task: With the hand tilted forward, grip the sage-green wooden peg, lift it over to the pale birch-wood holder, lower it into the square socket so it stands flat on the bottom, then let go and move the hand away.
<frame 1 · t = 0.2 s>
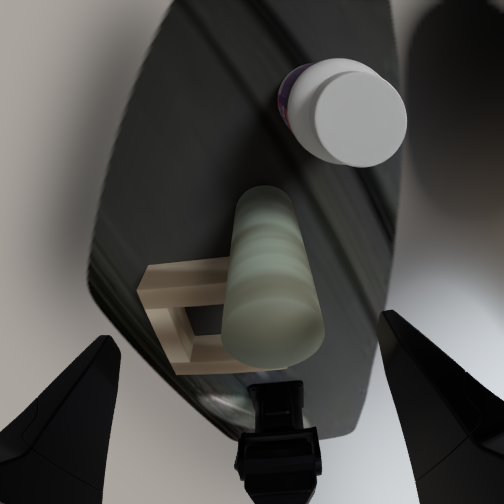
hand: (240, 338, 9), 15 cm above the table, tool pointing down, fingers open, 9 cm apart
holder: (221, 308, 28), on the table
pill bottle: (315, 100, 19), on the table
peg: (264, 212, 23), on the table
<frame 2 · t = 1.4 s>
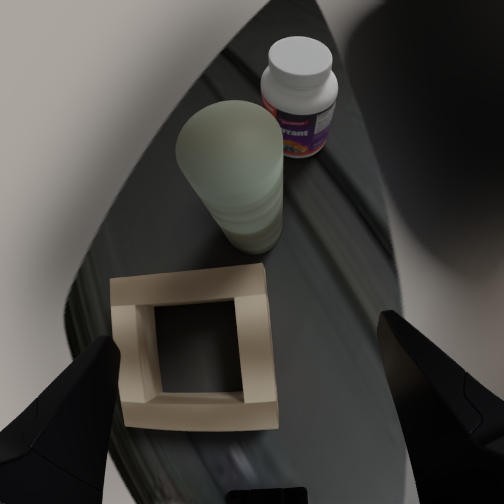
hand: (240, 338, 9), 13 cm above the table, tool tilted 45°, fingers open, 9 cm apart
holder: (199, 349, 23), on the table
pill bottle: (296, 135, 26), on the table
peg: (253, 226, 24), on the table
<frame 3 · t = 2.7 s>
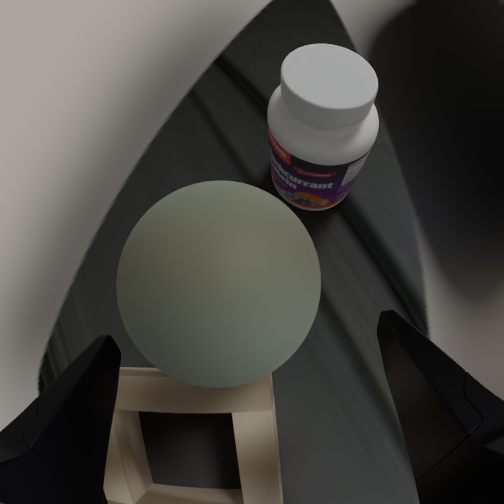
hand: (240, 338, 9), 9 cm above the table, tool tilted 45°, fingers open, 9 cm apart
holder: (192, 446, 17), on the table
pill bottle: (311, 176, 20), on the table
peg: (256, 305, 18), on the table
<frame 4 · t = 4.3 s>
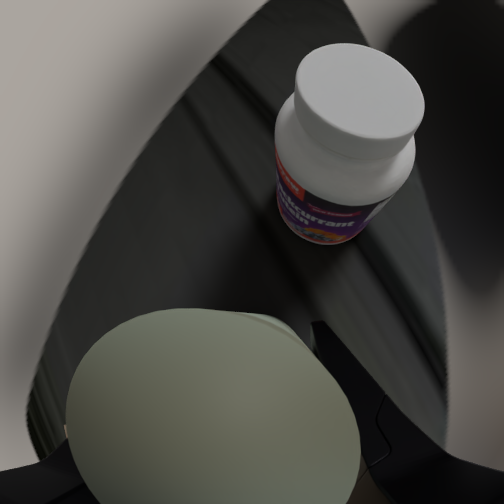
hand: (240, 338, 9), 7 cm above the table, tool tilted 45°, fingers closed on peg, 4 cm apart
pill bottle: (324, 201, 17), on the table
peg: (259, 355, 16), on the table, touching gripper
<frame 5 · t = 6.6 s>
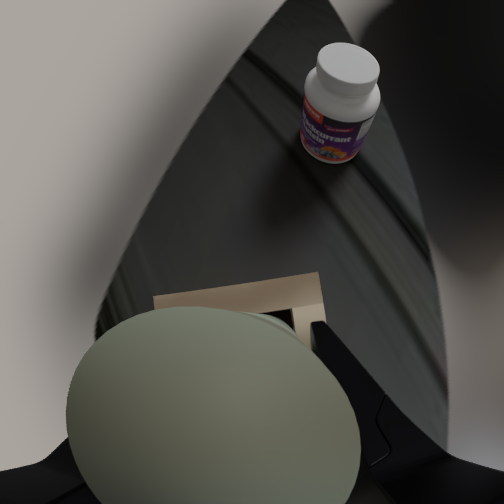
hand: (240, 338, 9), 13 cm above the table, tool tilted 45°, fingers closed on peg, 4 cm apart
holder: (250, 361, 22), on the table
pill bottle: (330, 140, 25), on the table
peg: (259, 355, 16), point 7 cm above the table, touching gripper
when the fingers open (8 cm above the table, at t = 9.0 s): peg stays where it is, resting in holder.
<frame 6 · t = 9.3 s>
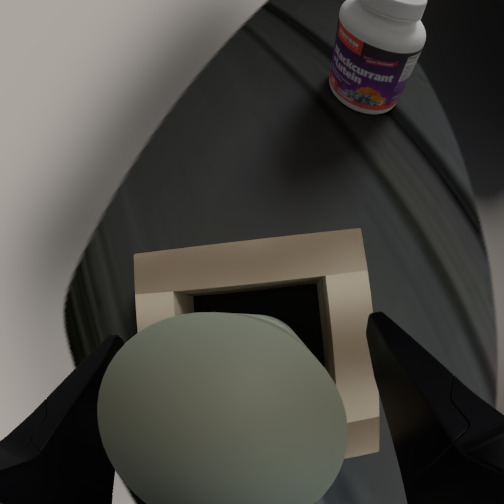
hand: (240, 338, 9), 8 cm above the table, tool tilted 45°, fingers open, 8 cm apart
holder: (260, 352, 17), on the table
pill bottle: (363, 90, 20), on the table
peg: (260, 353, 17), resting in holder
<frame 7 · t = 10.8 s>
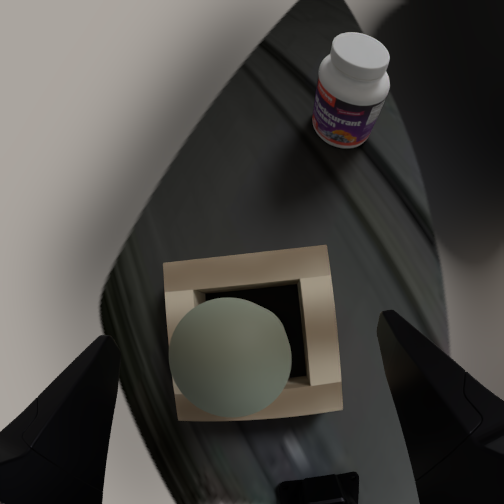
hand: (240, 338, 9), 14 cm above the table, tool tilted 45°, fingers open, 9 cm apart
holder: (255, 335, 23), on the table
pill bottle: (340, 126, 26), on the table
peg: (255, 336, 23), resting in holder
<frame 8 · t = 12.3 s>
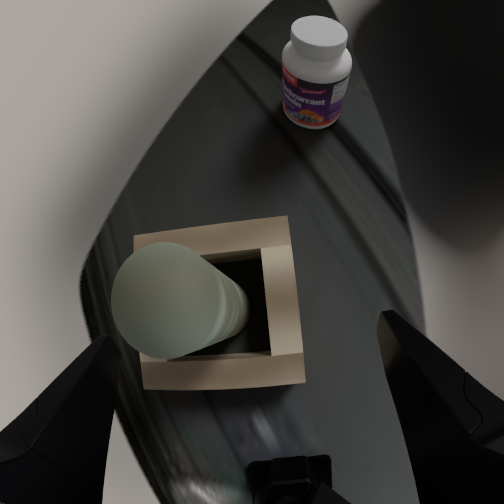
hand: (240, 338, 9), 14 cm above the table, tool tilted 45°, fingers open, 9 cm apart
holder: (222, 308, 23), on the table
pill bottle: (311, 109, 26), on the table
peg: (222, 309, 23), resting in holder
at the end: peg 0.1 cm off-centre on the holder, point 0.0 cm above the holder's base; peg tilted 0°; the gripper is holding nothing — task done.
